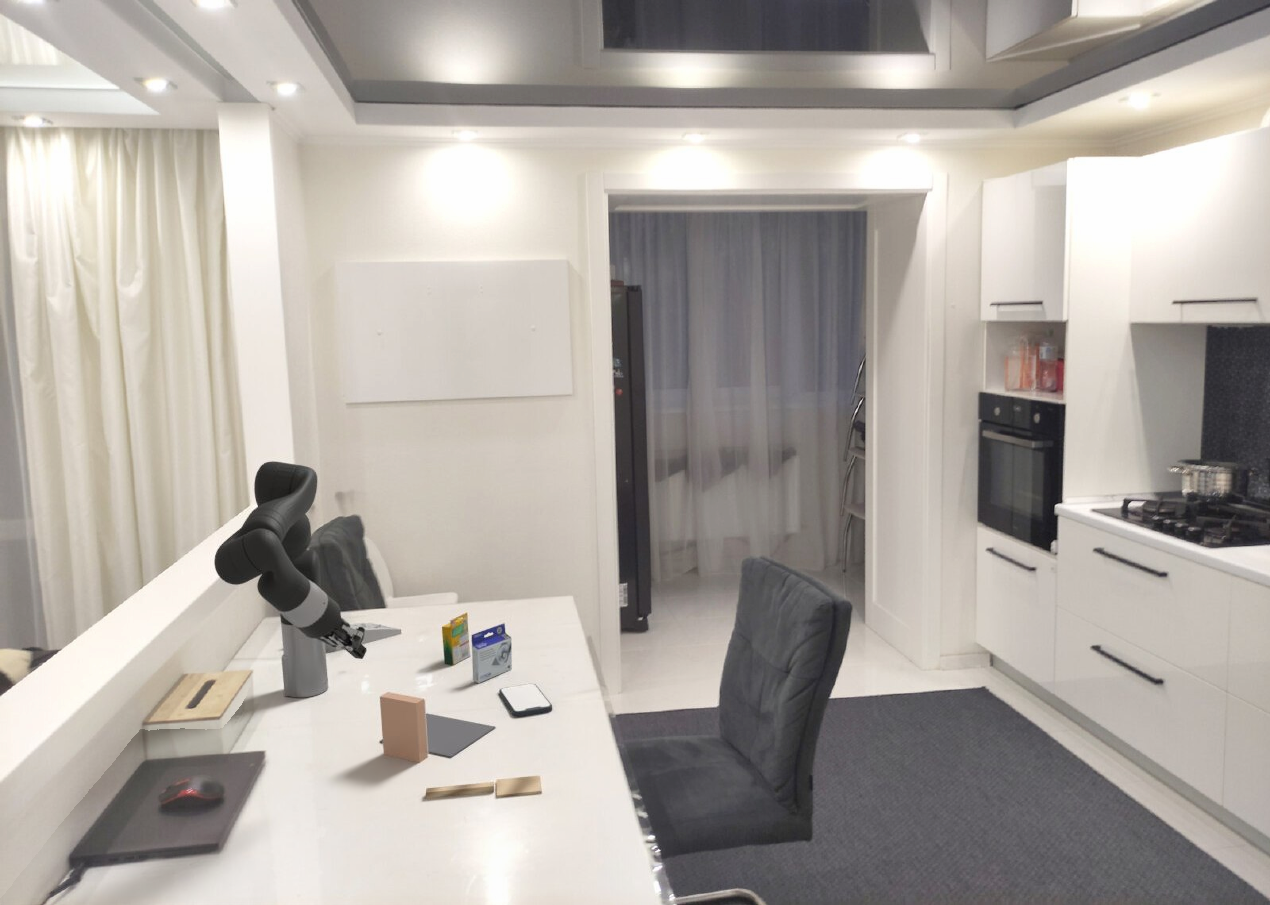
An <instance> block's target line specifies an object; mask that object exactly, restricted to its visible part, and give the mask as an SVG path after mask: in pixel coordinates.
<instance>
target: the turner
mask: <svg viewBox="0 0 1270 905" xmlns="http://www.w3.org/2000/svg"><path fill="white" fill-rule="evenodd" d="M494 784H495V783H494V781H490V782H489V781H488V782H479V783H477V782H476V783H467V784H466V783H465V784H456V785H448V786H439V787H438V786H436V787H427V788H426V790H425V799H427V800H428V799H438V798H447V797H448V798H449V797H456V796H458V797H460V796H469V795H479V794H487V793H488V794H489V793H495V785H494ZM542 793H543V790H542V781H541V775H531V776H530V775H529V776H520V777H510V778H500V779H496V798H497V799H499V798H507V797H517V796H527V795H537V794H542Z"/></svg>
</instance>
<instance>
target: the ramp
mask: <svg viewBox="0 0 1270 905" xmlns="http://www.w3.org/2000/svg"><path fill="white" fill-rule="evenodd" d="M349 624H350V623H349ZM350 627H351V628H353V629H356V628H359V627H363V628H364V629H365V633H364V639H363V641H362V643H361V644H362V645H363V646H364V645H366V644H369V643H373V642H377V641H380V640H384V639H388V638H392V637H396V636H399V635H402V629H401V628H397V627H391V626H387V625H382V624H378V623H373V622H358V623H351V624H350ZM325 651H327V652H335V653H336V652H340V651H343V650H342V649H341V648H339V647H338V646H336V647H332V646H331V645H329V644H326V643H325Z"/></svg>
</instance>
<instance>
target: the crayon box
mask: <svg viewBox="0 0 1270 905" xmlns="http://www.w3.org/2000/svg"><path fill="white" fill-rule="evenodd" d="M468 620H469V618H468V612H465V613H463V614H461V615H458V616H456V617H455V618H452V619H451V620H449V621H450V622H449V623H447V624H445V625H443V626H441V632H442V634H441V635H442V646H443V660H444V661H443V662H444V664H445V665H448V666H455V665H457V664H458V663H460V662H462V661H464V660H465V659H467V658H469V657H471V649H470V635H469V621H468Z"/></svg>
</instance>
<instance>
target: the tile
mask: <svg viewBox="0 0 1270 905" xmlns="http://www.w3.org/2000/svg"><path fill="white" fill-rule="evenodd" d="M379 703H380V704H379V705H380V716H381V719H380V720H381V722H380V723H381V731H382V732H381V736H382V739H383V743H382V749H383V750H382V751H383V755H385V756H389V757H394V758H399V759H402V760H407V761H411V762H416V763H422V762H423V761H424V760H426V759H428V758H429V756H428V755H429V753H428V739H427V723H426V713H427V709H426V708H427V706H426V699H425V698H421V697H416V696H410V695H406V694H401V693H400V694H399V693H394V692H390V691H389V692H386V693H383V694H382V695H379Z"/></svg>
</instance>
